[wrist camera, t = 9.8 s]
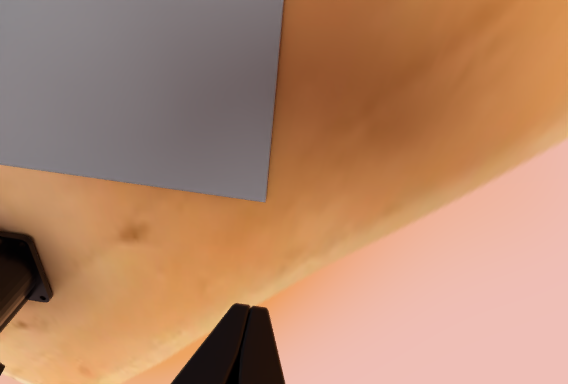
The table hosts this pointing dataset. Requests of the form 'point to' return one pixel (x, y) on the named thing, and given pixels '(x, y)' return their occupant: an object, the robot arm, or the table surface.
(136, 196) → the table surface
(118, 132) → the card
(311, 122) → the table surface
